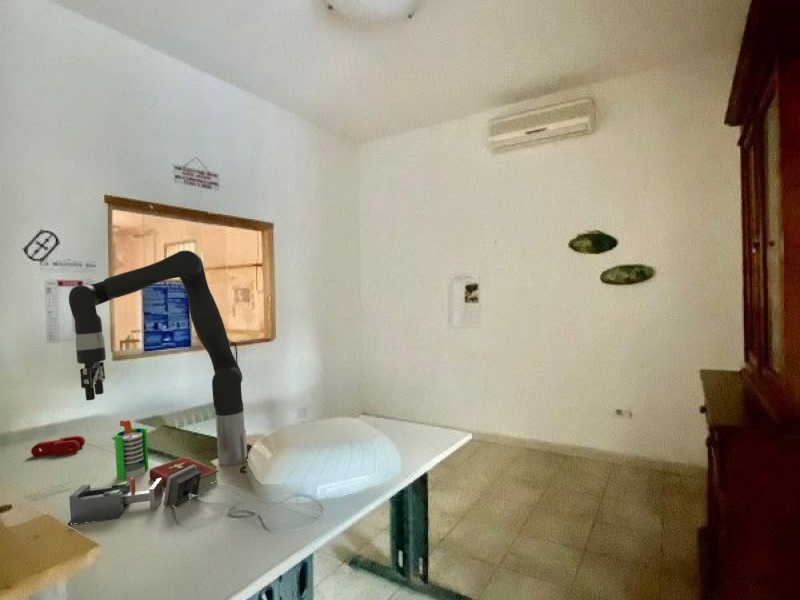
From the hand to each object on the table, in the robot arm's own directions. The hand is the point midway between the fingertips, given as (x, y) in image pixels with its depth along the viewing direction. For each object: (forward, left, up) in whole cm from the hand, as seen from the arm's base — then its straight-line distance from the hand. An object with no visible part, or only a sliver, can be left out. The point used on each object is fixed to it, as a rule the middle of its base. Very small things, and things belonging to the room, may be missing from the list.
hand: (95, 396), depth 141 cm
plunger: (-18, +24, -27) cm, 40 cm away
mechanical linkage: (+29, -35, -28) cm, 53 cm away
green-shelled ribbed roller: (-8, -3, -28) cm, 29 cm away
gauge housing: (-10, +24, -27) cm, 38 cm away
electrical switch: (-31, +24, -28) cm, 48 cm away
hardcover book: (-27, +9, -28) cm, 40 cm away
